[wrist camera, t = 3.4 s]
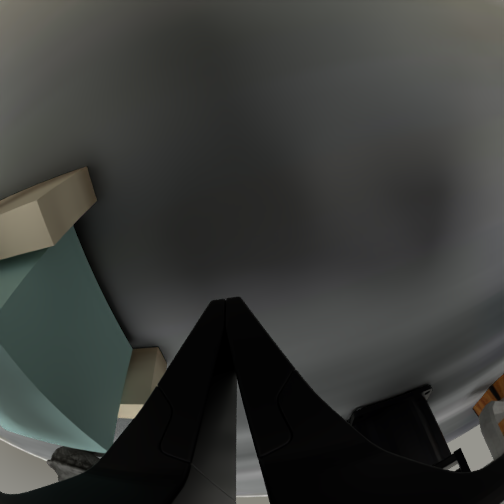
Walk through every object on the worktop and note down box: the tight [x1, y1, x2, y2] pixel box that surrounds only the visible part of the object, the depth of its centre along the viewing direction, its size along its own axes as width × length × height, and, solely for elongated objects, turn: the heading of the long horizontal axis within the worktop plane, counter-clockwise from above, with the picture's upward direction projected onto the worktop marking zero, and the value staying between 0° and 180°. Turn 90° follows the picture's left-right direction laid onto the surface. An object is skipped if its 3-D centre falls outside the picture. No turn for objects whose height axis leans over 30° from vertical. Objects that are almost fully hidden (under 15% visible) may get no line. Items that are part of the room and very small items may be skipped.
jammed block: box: [0, 226, 133, 453], centre depth 8 cm, size 6×6×5 cm
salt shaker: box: [47, 446, 105, 482], centre depth 13 cm, size 6×6×12 cm
